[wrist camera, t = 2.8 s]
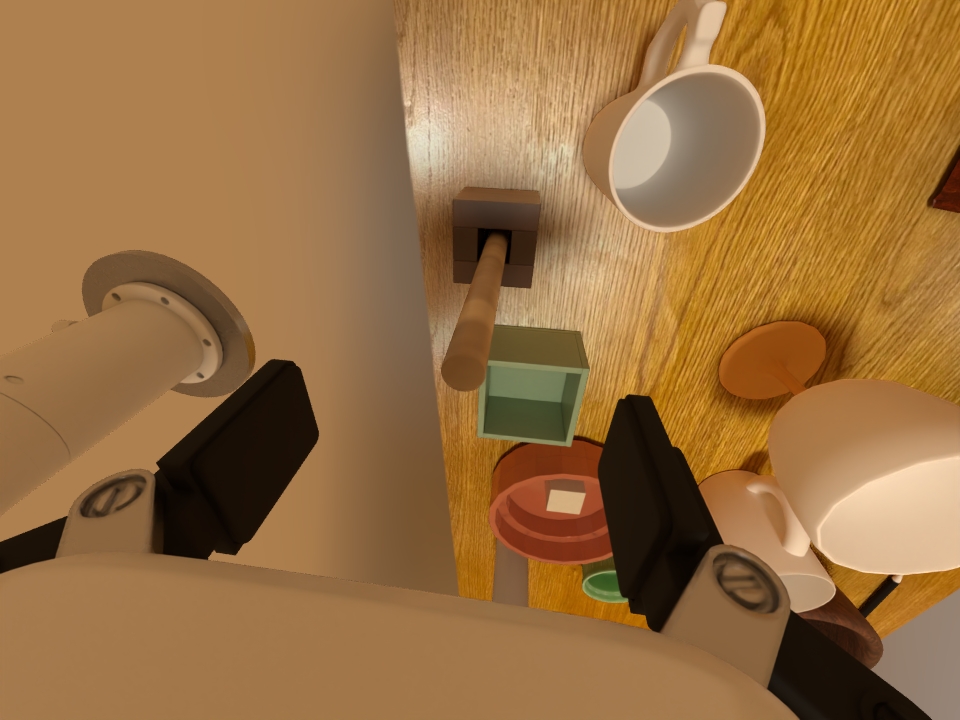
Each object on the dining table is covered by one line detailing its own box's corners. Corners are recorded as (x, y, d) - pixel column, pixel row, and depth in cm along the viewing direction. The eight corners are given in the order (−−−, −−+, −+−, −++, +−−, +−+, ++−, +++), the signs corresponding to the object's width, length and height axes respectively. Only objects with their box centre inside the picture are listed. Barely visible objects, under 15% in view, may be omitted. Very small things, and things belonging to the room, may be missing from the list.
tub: (483, 395, 41) (476, 437, 36) (487, 323, 36) (480, 359, 31) (565, 403, 41) (571, 447, 35) (580, 331, 36) (590, 369, 30)
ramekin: (571, 545, 55) (574, 575, 52) (632, 537, 52) (640, 568, 49) (587, 575, 59) (591, 605, 56) (645, 569, 57) (653, 600, 53)
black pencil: (837, 631, 60) (842, 639, 59) (895, 569, 50) (902, 578, 49) (843, 631, 60) (848, 639, 59) (903, 570, 50) (910, 578, 49)
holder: (464, 259, 33) (453, 283, 28) (465, 186, 30) (452, 199, 25) (530, 263, 33) (531, 288, 28) (538, 190, 29) (541, 204, 24)
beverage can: (523, 549, 57) (522, 639, 47) (493, 542, 57) (486, 631, 47) (532, 533, 55) (533, 624, 45) (501, 526, 55) (495, 616, 44)
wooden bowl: (742, 628, 63) (776, 707, 54) (610, 590, 61) (624, 666, 52) (871, 559, 49) (944, 650, 41) (707, 507, 47) (747, 591, 39)
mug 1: (658, 197, 29) (729, 236, 19) (572, 193, 29) (596, 229, 19) (705, 26, 23) (840, -50, 13) (597, 25, 24) (649, -49, 14)
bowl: (489, 514, 53) (485, 555, 48) (496, 427, 44) (493, 466, 39) (611, 529, 52) (620, 572, 47) (646, 442, 42) (662, 484, 37)
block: (544, 483, 47) (546, 510, 44) (549, 462, 45) (550, 489, 42) (575, 487, 47) (579, 514, 43) (581, 466, 45) (586, 493, 41)
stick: (490, 236, 32) (439, 389, 13) (492, 216, 31) (441, 352, 12) (508, 238, 32) (483, 395, 13) (511, 219, 31) (487, 358, 12)
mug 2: (800, 451, 41) (889, 557, 31) (749, 515, 47) (810, 619, 37) (724, 442, 41) (788, 543, 31) (685, 506, 48) (727, 607, 38)
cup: (683, 398, 39) (774, 558, 24) (739, 296, 32) (909, 433, 18) (794, 416, 38) (952, 588, 24) (874, 317, 32) (1154, 472, 18)
